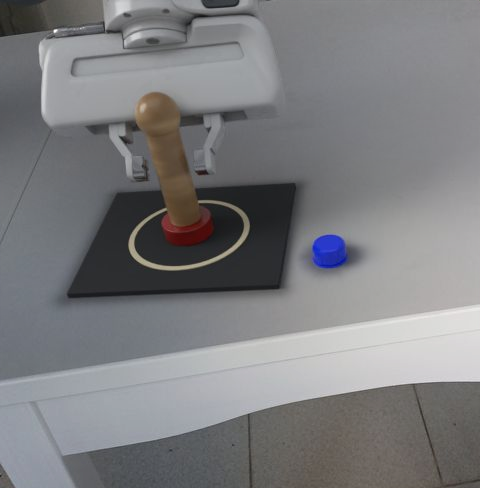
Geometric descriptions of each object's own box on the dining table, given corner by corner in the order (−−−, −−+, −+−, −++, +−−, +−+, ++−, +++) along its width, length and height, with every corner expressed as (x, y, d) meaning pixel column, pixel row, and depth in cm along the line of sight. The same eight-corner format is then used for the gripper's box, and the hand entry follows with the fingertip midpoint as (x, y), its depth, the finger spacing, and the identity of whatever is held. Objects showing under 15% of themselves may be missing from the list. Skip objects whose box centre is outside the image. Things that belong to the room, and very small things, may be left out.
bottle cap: (307, 265, 62) (304, 249, 61) (322, 246, 64) (320, 229, 63) (339, 272, 61) (337, 255, 60) (353, 252, 63) (351, 235, 62)
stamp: (160, 247, 64) (117, 108, 56) (171, 219, 68) (131, 83, 59) (209, 245, 64) (173, 104, 55) (217, 217, 67) (184, 80, 58)
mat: (68, 299, 61) (65, 292, 61) (118, 197, 73) (116, 191, 72) (279, 290, 60) (278, 283, 59) (296, 187, 71) (295, 181, 71)
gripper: (19, 10, 59) (33, 179, 58) (271, -17, 58) (286, 153, 58) (53, 45, 65) (65, 198, 64) (279, 21, 65) (294, 175, 64)
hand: (172, 176), depth 61 cm, fingers open, 4 cm apart
